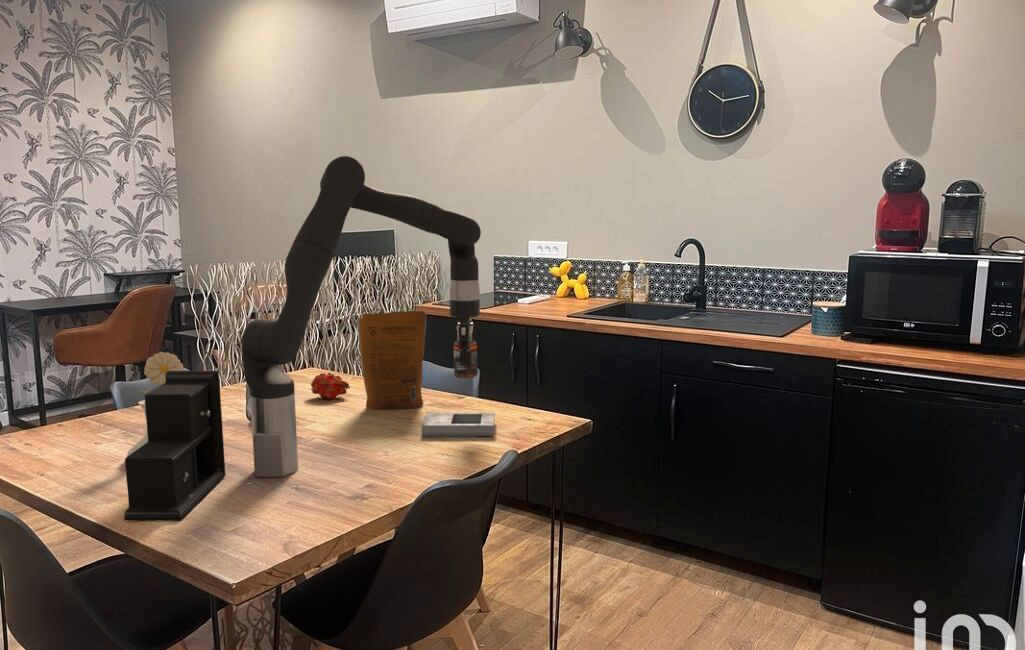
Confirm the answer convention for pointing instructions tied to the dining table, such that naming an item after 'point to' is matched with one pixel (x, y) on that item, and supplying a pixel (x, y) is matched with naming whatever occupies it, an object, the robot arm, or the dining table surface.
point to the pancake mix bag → (392, 358)
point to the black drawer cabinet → (177, 448)
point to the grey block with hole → (458, 424)
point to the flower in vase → (157, 380)
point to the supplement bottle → (471, 369)
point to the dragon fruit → (329, 386)
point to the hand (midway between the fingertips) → (465, 362)
